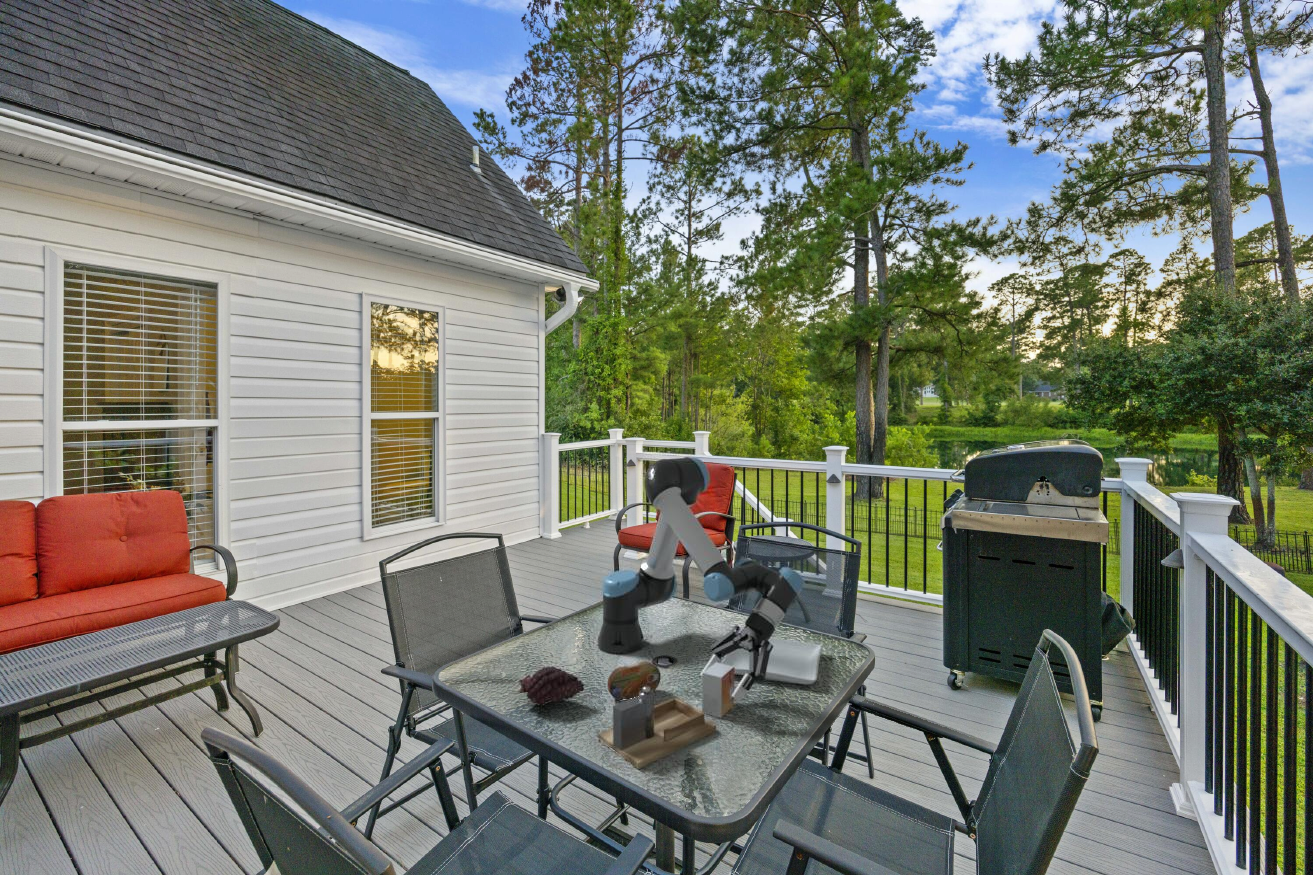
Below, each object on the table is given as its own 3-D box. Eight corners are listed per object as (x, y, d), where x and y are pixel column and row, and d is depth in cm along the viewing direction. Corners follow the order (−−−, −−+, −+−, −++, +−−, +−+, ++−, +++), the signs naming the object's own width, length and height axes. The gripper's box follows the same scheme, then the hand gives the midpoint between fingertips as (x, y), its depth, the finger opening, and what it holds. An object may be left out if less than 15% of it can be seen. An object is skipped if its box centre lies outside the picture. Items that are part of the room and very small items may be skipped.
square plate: (816, 693, 164) (816, 679, 164) (718, 678, 173) (718, 665, 173) (822, 654, 190) (822, 642, 190) (737, 643, 199) (737, 632, 199)
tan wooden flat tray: (598, 740, 140) (598, 723, 140) (674, 707, 156) (674, 692, 156) (637, 769, 129) (637, 751, 129) (716, 730, 144) (716, 714, 144)
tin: (610, 704, 158) (610, 672, 157) (605, 699, 160) (605, 668, 160) (661, 691, 164) (661, 661, 164) (655, 687, 167) (655, 657, 167)
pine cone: (587, 696, 161) (587, 660, 161) (579, 715, 151) (579, 677, 151) (523, 694, 163) (522, 658, 162) (511, 712, 153) (510, 674, 152)
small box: (721, 718, 150) (721, 677, 149) (701, 712, 153) (701, 672, 152) (734, 705, 157) (735, 666, 156) (715, 700, 160) (715, 661, 159)
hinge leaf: (612, 744, 136) (612, 695, 135) (647, 728, 143) (647, 682, 142) (622, 751, 133) (621, 701, 133) (657, 734, 140) (657, 687, 139)
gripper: (804, 643, 152) (758, 716, 145) (742, 614, 173) (699, 676, 166) (789, 626, 149) (741, 700, 142) (727, 598, 170) (683, 662, 163)
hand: (718, 688), depth 154 cm, fingers open, 13 cm apart
